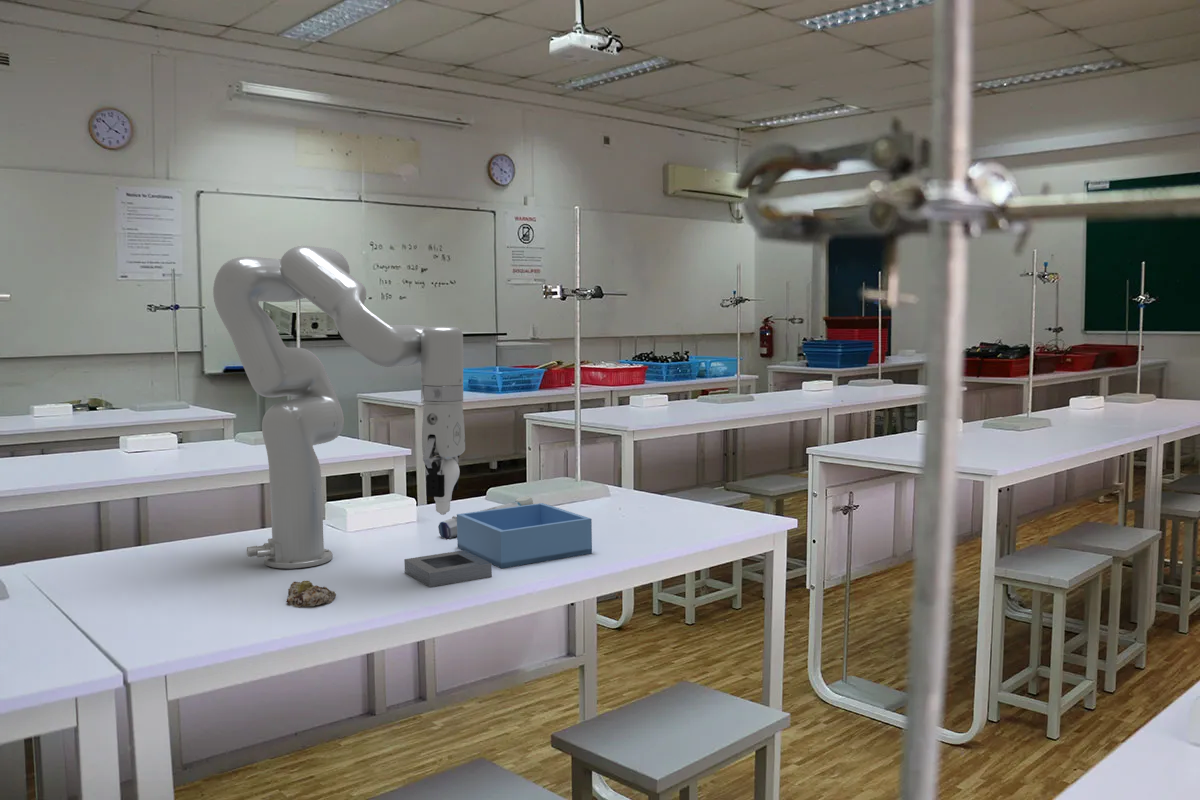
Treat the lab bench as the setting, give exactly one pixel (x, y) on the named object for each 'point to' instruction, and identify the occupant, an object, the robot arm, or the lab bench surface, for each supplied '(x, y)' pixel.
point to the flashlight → (450, 526)
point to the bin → (524, 534)
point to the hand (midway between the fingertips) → (442, 492)
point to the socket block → (447, 568)
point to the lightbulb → (447, 485)
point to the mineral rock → (308, 594)
